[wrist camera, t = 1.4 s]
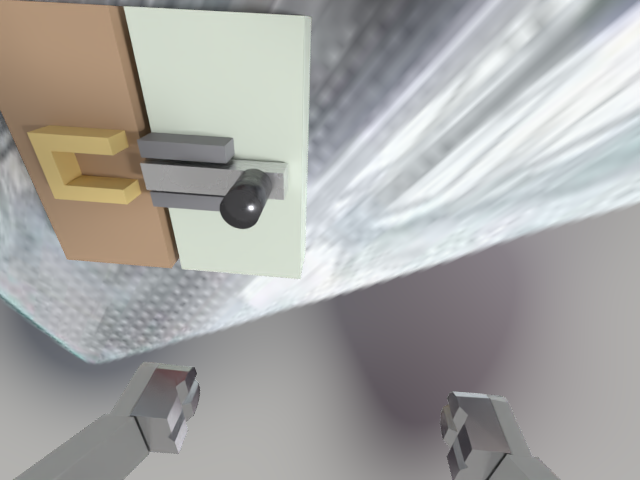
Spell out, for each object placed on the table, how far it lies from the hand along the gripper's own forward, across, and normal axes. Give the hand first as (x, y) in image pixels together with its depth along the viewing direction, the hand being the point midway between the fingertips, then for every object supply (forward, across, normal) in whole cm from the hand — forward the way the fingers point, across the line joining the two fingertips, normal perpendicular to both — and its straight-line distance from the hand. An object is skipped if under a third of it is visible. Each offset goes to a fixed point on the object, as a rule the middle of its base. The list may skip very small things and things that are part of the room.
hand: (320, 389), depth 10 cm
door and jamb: (+22, +14, 0) cm, 26 cm away
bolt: (+17, +9, 0) cm, 19 cm away
